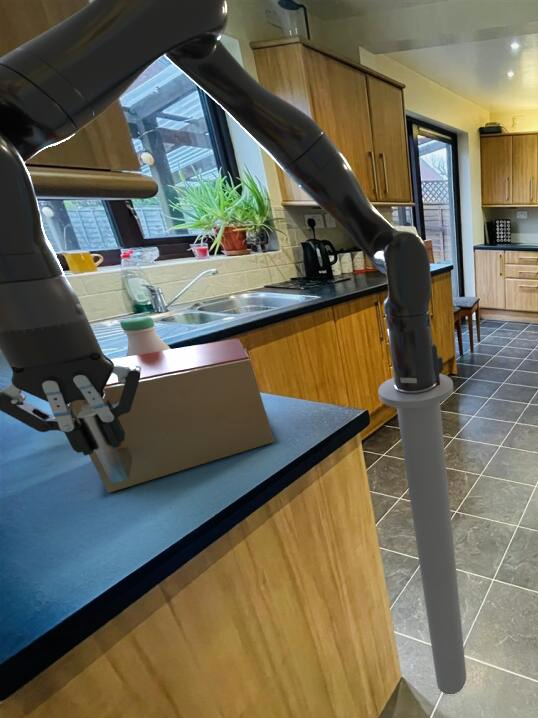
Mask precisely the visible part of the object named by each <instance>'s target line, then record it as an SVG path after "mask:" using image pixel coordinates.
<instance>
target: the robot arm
mask: <svg viewBox="0 0 538 718" xmlns="http://www.w3.org/2000/svg"><path fill="white" fill-rule="evenodd" d="M228 20H229V7H228V2H227V0H92V1H91V2H90V3H88V4H87V5H86V6H84V7H82V8H81V9H80V10H78V11H76V12H75V13H74V14H72V15H70V16H69V17H67V18H65V19H64V20H63V21H60V23H57V24H56V25H54V26H52V27H50V28H49V29H47V30H45V31H44V32H42V33H41V34H39V35H37V36H35V37H34V38H32V39H30V40H29V41H27V42H25V43H23V44H22V45H19V46H18V47H16V48H14V49H13V50H11V51H9V52H8V53H6V54H4V55H2V56H1V57H0V351H1V353H2V354H3V356H4V358H5V360H6V362H7V364H8V366H9V367H10V369H11V372H12V375H11V380H10V381H11V383H10V384H9V385H6V386H5V387H4V388H1V389H0V411H1V412H3V413H4V414H6V415H8V416H9V417H12V418H13V419H15V420H17V421H18V422H21V423H22V424H24V425H26V426H28V427H30V428H32V429H34V430H36V431H37V432H39V433H46V432H49V431H60V432H62V433H63V434H64V435H65V436H66V439H67V441H68V442H69V443H70V444H69V445H70V446H71V448H72V449H73V450H72V451H74V452H76V453H82V454H83V456H89V454H93V451H94V448H93V446H92V444H91V442H90V440H89V439H88V437H87V435H86V433H85V431H84V429H83V427H82V425H81V423H80V424H79V423H78V421H77V417H76V414H75V411H74V409H73V402H74V401H76V400H87V401H88V403H89V404H90V406H91V407H92V408H93V409H94V410H95V411H96V413H97V414H98V416H99V417H100V419H101V420H102V426H103V428H104V430H105V432H106V435H107V437H108V439H109V441H110V443H111V445H112V447H113V448H115V447H119V446H121V443H122V441H124V438H125V431H124V429H123V427H122V425H121V423H120V421H119V418H118V417H119V416H120V415H122V414H126V413H128V412H130V410H131V406H132V403H133V400H134V396H135V393H136V390H137V386H138V383H139V379H140V376H141V368H140V367H139V366H131V367H126V366H120V365H114V363H113V362H112V361H111V359H110V358H109V357H108V356H106V355H105V354H104V352H103V350H102V348H101V346H100V343H99V341H98V339H97V337H96V335H95V334H96V333H94V330H93V328H92V326H91V324H90V321H89V319H88V316H87V315H86V312H85V310H84V308H83V305H82V304H81V301H80V299H79V297H78V295H77V293H76V291H75V290H74V288H73V286H72V285H71V284H70V283H69V280H68V279H67V277H66V275H65V272H64V271H63V268H62V266H61V264H60V261H59V259H58V258H57V255H56V252H55V251H54V249H53V247H52V244H51V243H50V241H49V240H48V238H47V236H46V234H45V230H44V227H43V222H42V216H41V212H40V211H41V210H40V207H39V204H38V199H37V196H36V191H35V189H34V185H33V181H32V178H31V176H30V173H29V171H28V169H27V166H26V163H27V162H28V161H29V160H30V159H32V158H33V157H34V156H35V155H37V154H38V153H39V152H41V151H42V150H45V149H46V148H48V147H52V146H56V145H58V144H60V143H62V142H65V141H66V140H69V139H70V138H71V137H73V136H74V135H76V134H77V133H79V132H80V131H81V130H83V129H84V128H85V127H87V126H88V125H90V124H91V123H92V122H93V121H94V120H96V119H97V118H98V117H100V116H101V115H102V114H104V113H105V112H106V111H107V110H108V109H109V108H110V107H111V106H113V104H115V102H117V101H118V100H119V99H121V97H122V96H123V95H124V94H125V92H127V91H128V89H129V88H131V86H132V85H133V84H134V83H135V82H136V81H137V80H138V79H139V78H140V77H141V76H142V75H143V74H144V73H145V72H146V71H147V70H148V69H149V68H150V67H151V66H152V65H154V64H155V63H156V62H158V61H159V60H160V59H161V58H162V57H165V58H166V59H167V60H168V61H169V62H171V63H172V64H173V65H174V66H175V67H176V68H178V69H179V70H180V71H181V72H182V73H183V74H184V75H185V76H187V77H188V78H189V79H190V81H192V82H193V83H194V84H195V85H197V86H198V87H199V88H200V89H201V90H203V92H204V93H206V94H207V95H208V96H209V97H210V98H211V99H212V100H213V101H215V103H217V104H218V105H219V106H220V107H221V108H222V109H223V110H224V111H225V112H226V113H227V114H228V115H229V116H230V117H231V118H232V119H233V120H234V121H235V122H236V123H237V124H238V125H239V126H240V127H241V128H242V130H243V131H245V133H247V134H248V135H249V136H250V137H251V138H252V139H253V140H254V142H256V143H257V144H258V145H259V146H260V147H261V148H262V149H263V150H264V151H265V152H266V153H267V154H268V155H269V156H270V157H271V159H272V160H273V161H274V162H275V163H276V164H277V165H278V166H279V168H281V169H282V171H284V173H285V174H286V175H288V177H289V178H290V179H291V180H292V181H293V182H294V183H295V184H296V185H297V186H298V187H299V188H300V189H301V190H302V191H303V192H304V193H305V194H307V196H309V197H310V198H311V199H312V200H313V201H314V203H316V204H317V206H319V207H320V208H321V209H322V210H323V211H324V213H326V214H327V215H328V216H329V217H330V218H331V219H333V221H335V222H336V223H337V224H338V225H339V226H341V227H342V229H344V230H345V232H346V233H347V234H348V235H349V236H350V237H351V238H352V240H353V241H354V242H355V244H356V245H357V246H358V247H359V248H360V249H361V251H362V252H363V254H364V255H365V256H366V257H367V258H368V260H369V261H370V262H371V264H373V266H374V267H375V268H376V269H377V270H378V271H379V272H380V273H382V274H383V275H385V276H386V280H387V281H386V283H387V290H388V291H387V297H385V298H384V299H383V311H384V319H385V324H386V332H387V339H388V345H389V352H390V360H391V368H392V373H393V378H394V382H395V389H396V391H398V392H400V393H404V394H419V393H424V392H427V391H430V390H432V389H434V388H435V387H436V386H437V385H440V376H439V374H442V371H444V364H443V363H444V361H443V357H442V356H440V355H438V346H437V345H436V343H434V341H433V334H432V323H431V314H430V312H431V311H430V301H431V297H432V276H431V274H432V273H431V262H430V260H431V259H430V254H429V250H428V247H427V245H426V243H425V242H424V240H423V239H422V238H421V237H420V236H419V235H418V234H416V233H414V232H411V231H406V230H398V229H396V228H395V227H394V226H393V225H392V224H391V223H390V222H389V221H387V219H386V218H385V217H384V216H383V215H382V214H381V213H380V211H378V210H377V209H376V207H375V206H374V205H373V203H372V202H371V201H370V199H369V198H368V196H367V194H366V192H365V191H364V189H363V187H362V185H361V182H360V180H359V179H358V177H357V175H356V173H355V171H354V169H353V168H352V166H351V164H350V162H349V161H348V159H347V158H346V156H345V155H344V154H343V153H342V151H341V150H340V149H339V147H338V146H337V145H336V144H335V142H333V140H332V139H331V138H330V137H329V136H328V135H327V133H326V132H325V131H324V129H322V127H321V126H320V125H319V124H318V123H317V122H316V121H315V120H314V119H313V118H312V117H310V116H309V115H307V113H305V112H303V111H302V110H300V108H298V107H296V106H294V105H293V104H291V103H289V102H288V101H286V100H285V99H283V98H281V97H280V96H278V95H277V94H275V93H273V92H272V91H271V90H269V89H268V88H266V87H265V86H263V84H261V83H259V82H258V81H257V80H256V79H255V78H254V77H253V76H252V75H251V74H249V72H248V71H247V70H246V69H245V68H244V67H243V66H242V65H241V64H240V62H239V61H238V60H237V59H236V58H235V57H234V56H233V54H232V53H231V52H230V51H229V50H228V49H227V47H225V45H224V43H222V42H221V38H222V37H223V35H224V33H225V31H226V29H227V25H228ZM112 373H113V374H115V375H117V377H118V382H120V383H122V384H124V388H123V391H122V395H121V398H120V402H118V403H116V404H114V405H112V404H111V402H110V400H109V399H108V396H107V394H106V392H105V391H104V388H105V386H106V384H107V382H108V380H109V378H110V376H111V374H112ZM23 392H25V393H27V394H29V395H31V396H33V397H36V398H38V399H40V400H42V401H45V402H47V403H48V404H49V406H50V410H51V412H52V415H53V416H52V415H50V414H49V413H48V412H45V411H44V410H42V409H40V408H38V407H37V406H35V405H33V404H32V403H30V402H28V401H26V399H27V397H26V395H25V394H24V393H23Z"/></svg>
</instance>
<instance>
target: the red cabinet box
mask: <svg viewBox="0 0 538 718" xmlns="http://www.w3.org/2000/svg"><path fill="white" fill-rule="evenodd" d="M244 359H250V357H249V355H248V354H247V351H246V350H245V347H244V346H243V344H242V343H241V342H240V340H239V338H232V339H225V340H220V341H214V342H207V343H202V344H195V345H191V346H184V347H178V348H171V350H165V351H159V352H153V353H147V354H141V355H135V356H129V357H126V356H124V357H119V358H118V357H117V358H112V359H110V360H111V361H112V362H113V363H114V365H120V366H126V367H131V366H139V367H140V368H141V376H140V379H139V380H141V379H147V378H152V377H157V376H162V375H167V374H172V373H177V372H183V371H188V370H193V369H198V368H203V367H208V366H213V365H218V364H224V363H229V362H234V361H239V360H244ZM116 384H121V383H120V382H118V377H117V375H115V374H113V373H112V374H111V376H110V378H109V380H108V382H107V384H106V386H111V385H116ZM106 386H105V387H106Z"/></svg>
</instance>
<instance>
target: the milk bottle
mask: <svg viewBox="0 0 538 718" xmlns="http://www.w3.org/2000/svg"><path fill="white" fill-rule="evenodd" d="M119 323H120V326H121V329H122V330H123V333H124V334H125V335H126V337H127V350H126V356H125V357H129V356H135V355H141V354H147V353H153V352H159V351H165V350H171V349H172V348H171V347H170V346H169V345H168V344H166V342H164V341H163V340H162V338H161V337H160V336H159V335H158V333H157V331H156V329H157V328H156V326H155V321H154V319H153V318H152V317H150V316H138V317H137V316H136V317H130V318H127V319H126V318H125V319H123V320H121V321H119Z"/></svg>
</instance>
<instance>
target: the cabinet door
mask: <svg viewBox="0 0 538 718" xmlns="http://www.w3.org/2000/svg"><path fill="white" fill-rule="evenodd" d="M254 371H255V370H254V368H253V365H252V362H251V359H250V358H249V359H244V360H239V361H234V362H229V363H224V364H218V365H213V366H208V367H203V368H198V369H193V370H188V371H183V372H177V373H172V374H167V375H162V376H157V377H152V378H147V379H141V380H139V383H138V386H137V390H136V393H135V396H134V400H133V403H132V406H131V410H130V412H128V413H126V414H122V415H120V416H119V417H118V418H119V421H120V423H121V425H122V427H123V429H124V431H125V438H124V441H122V443H121V446H119V447H115V448H113V447H112V445H111V443H110V441H109V439H108V437H107V435H106V432H105V430H104V428H103V426H102V420H101V419H100V417H99V416H98V414H97V413H96V411H95V410H94V409H93V408H92V407H91V406H90V404H89V403H88V401H87V400H76V401H74V402H73V409H74V411H75V414H76V417H77V421H78V423H79V424H80V423H81V425H82V427H83V429H84V431H85V433H86V435H87V437H88V439H89V440H90V442H91V444H92V446H93V448H94V451H93V454H89V455H88V456H89V459H90V460H91V462H92V464H93V466H94V468H95V470H96V472H97V474H98V476H99V477H100V479H101V481H102V483H103V485H104V487H105V489H106V491H107V492H108V493H113V492H116V491H119V490H124V489H125V488H130V487H132V486H136V485H139V484H143V483H145V482H148V481H151V480H155V479H158V478H161V477H165V476H168V475H171V474H175V473H177V472H181V471H184V470H187V469H190V468H194V467H197V466H201V465H204V464H207V463H210V462H214V461H216V460H220V459H223V458H226V457H230V456H233V455H237V454H240V453H243V452H247V451H250V450H252V449H253V450H254V449H256V448H259V447H262V446H266V445H269V444H272V443H275V439H274V436H273V433H272V429H271V425H270V422H269V418H268V415H267V412H266V408H265V405H264V402H263V398H262V395H261V391H260V388H259V385H258V382H257V378H256V374H255V372H254ZM123 388H124V384H122V383H121V384H116V385H111V386H106V387H105V388H104V391H105V392H106V394H107V396H108V399H109V400H110V402H111V404H112V405H114V404H116V403H118V402H120V398H121V395H122V391H123Z"/></svg>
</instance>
